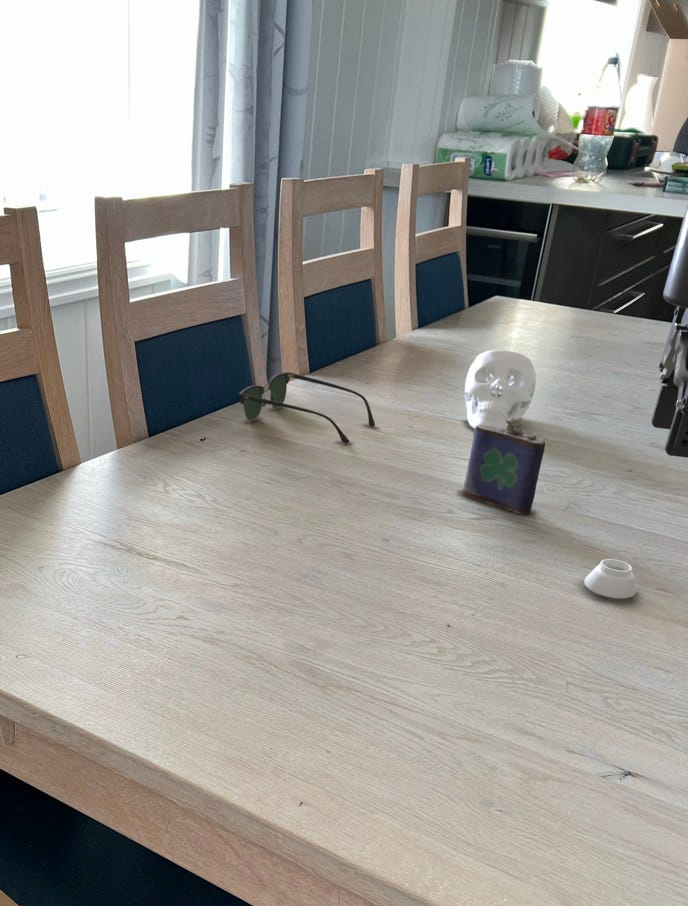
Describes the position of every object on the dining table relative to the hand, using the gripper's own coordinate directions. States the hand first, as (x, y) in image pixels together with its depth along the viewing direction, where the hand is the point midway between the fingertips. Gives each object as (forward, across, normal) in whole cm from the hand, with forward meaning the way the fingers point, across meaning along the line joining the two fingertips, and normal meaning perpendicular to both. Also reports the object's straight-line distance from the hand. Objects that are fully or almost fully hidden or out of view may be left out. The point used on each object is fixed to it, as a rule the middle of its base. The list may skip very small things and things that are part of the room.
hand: (670, 440), depth 86 cm
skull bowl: (+18, +66, +12) cm, 69 cm away
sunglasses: (+18, +51, +39) cm, 67 cm away
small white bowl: (+18, +7, 0) cm, 20 cm away
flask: (+18, +29, +12) cm, 36 cm away
